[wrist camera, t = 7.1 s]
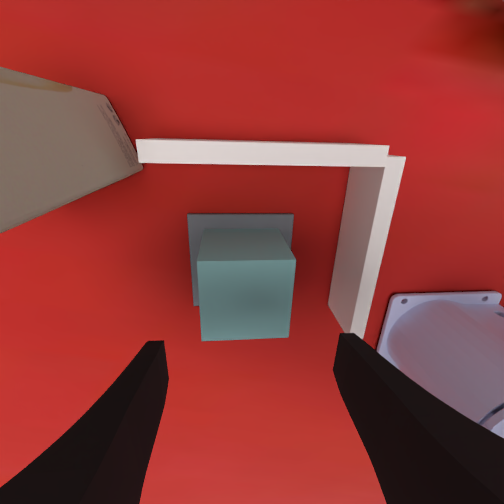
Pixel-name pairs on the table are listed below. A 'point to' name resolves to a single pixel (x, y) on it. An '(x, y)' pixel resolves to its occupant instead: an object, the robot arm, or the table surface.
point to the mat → (231, 221)
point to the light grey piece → (354, 212)
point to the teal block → (245, 284)
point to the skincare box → (55, 146)
